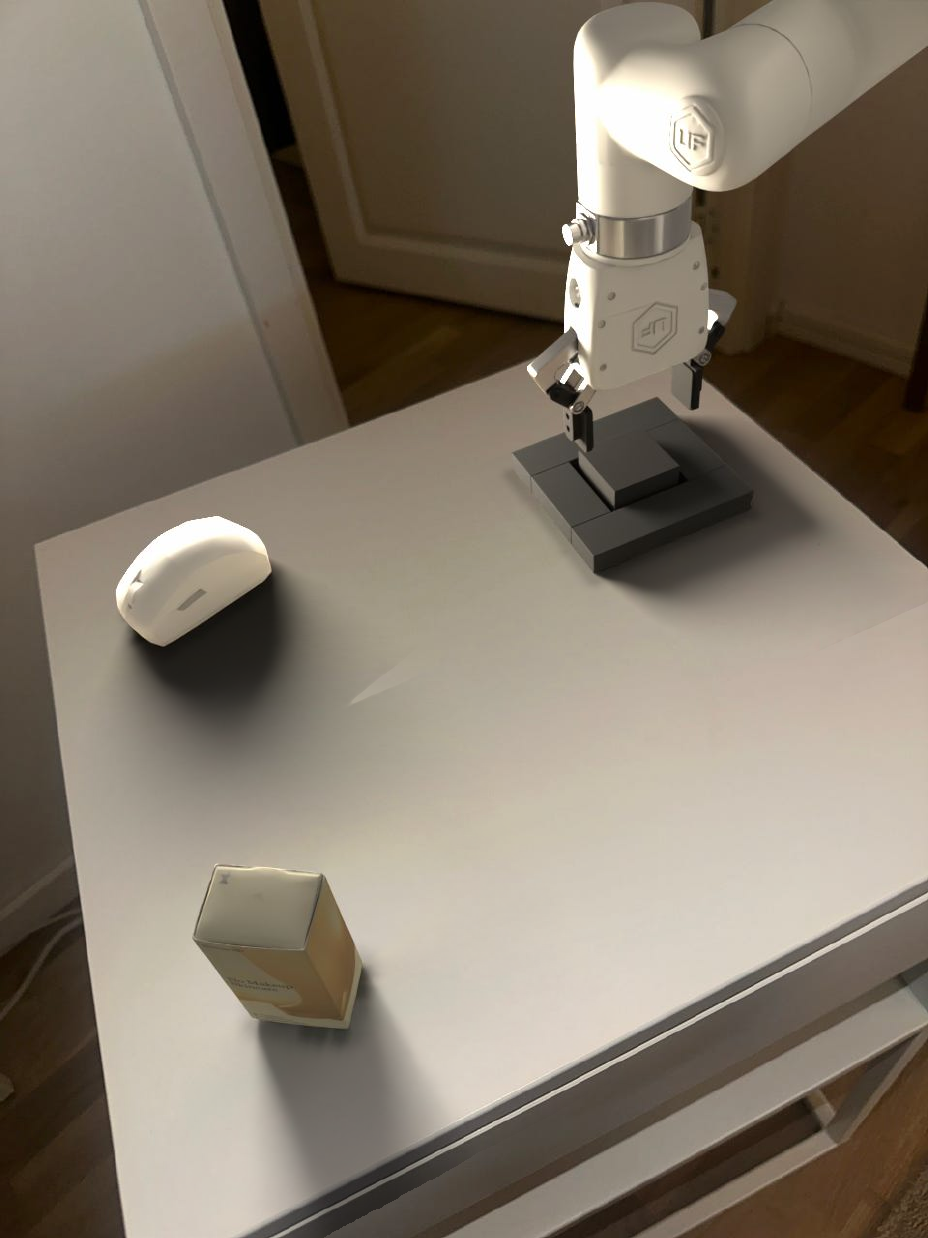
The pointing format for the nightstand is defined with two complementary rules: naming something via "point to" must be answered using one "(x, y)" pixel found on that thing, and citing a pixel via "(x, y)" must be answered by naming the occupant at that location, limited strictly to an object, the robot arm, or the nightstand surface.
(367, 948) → the nightstand surface
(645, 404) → the frame pad
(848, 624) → the nightstand surface
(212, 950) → the cosmetic box
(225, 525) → the computer mouse
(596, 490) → the dark grey square block
